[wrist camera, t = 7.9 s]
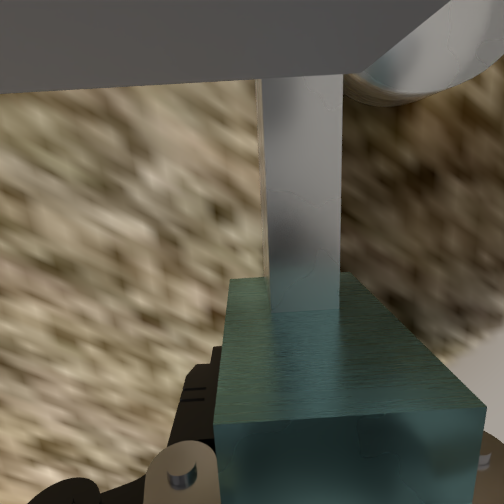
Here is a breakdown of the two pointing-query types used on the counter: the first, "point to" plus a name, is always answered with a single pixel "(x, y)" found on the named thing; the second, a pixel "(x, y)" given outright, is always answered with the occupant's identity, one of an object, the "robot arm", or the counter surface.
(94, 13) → the cabinet
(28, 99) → the counter surface
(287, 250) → the tool
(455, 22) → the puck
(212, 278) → the counter surface
